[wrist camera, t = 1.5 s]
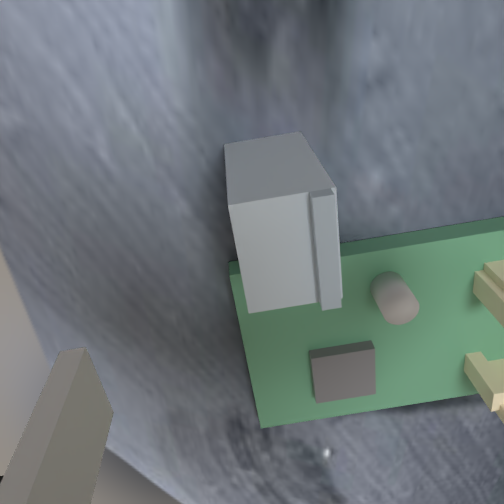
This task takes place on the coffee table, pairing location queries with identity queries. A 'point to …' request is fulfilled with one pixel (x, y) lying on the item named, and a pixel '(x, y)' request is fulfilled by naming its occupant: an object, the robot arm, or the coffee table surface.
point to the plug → (283, 223)
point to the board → (386, 329)
